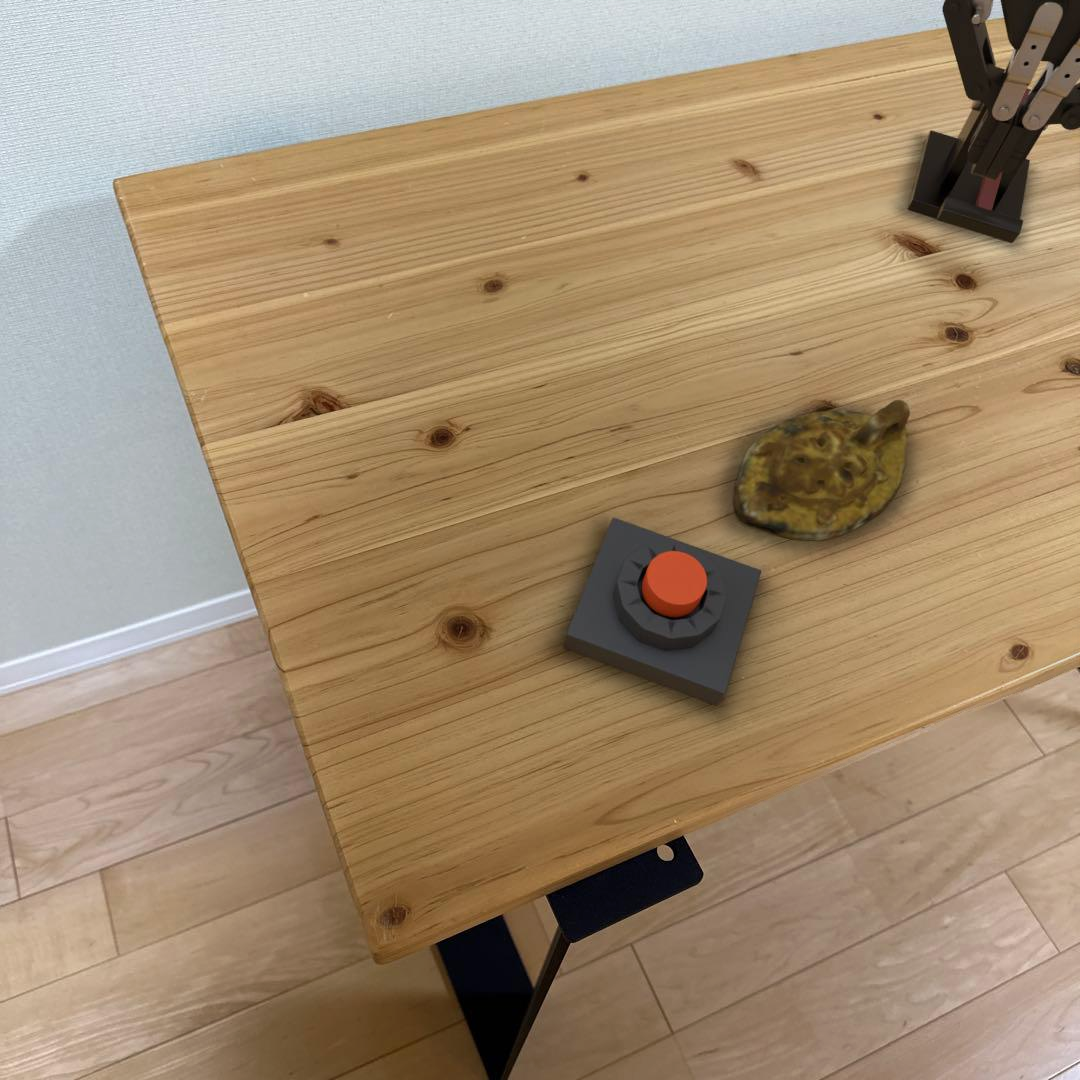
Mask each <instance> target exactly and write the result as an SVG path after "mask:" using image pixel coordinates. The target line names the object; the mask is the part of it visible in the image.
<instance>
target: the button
mask: <svg viewBox="0 0 1080 1080" xmlns="http://www.w3.org/2000/svg"><path fill="white" fill-rule="evenodd" d="M706 587H707V576H706V573H705V570H704V568H703V566H702V565H701V564H700V563H699V561H697V560H696V559H695V558H694V557H692V556H691V555H689V554H686V553H683V552H679V551H668V552H664V553H661V554H659V555H658V556H656V557H655V558H654V559H653V560H652V561H651V562H650V564H649V566H648V568H647V571H646V574H645V576H644V579H643V582H642V593H643V597H644V599H645V601H646V602H647V604H648V605H649V606H650V607H651V608H652V609H653V610H654V611H655V612H657V613H659V614H661V615H664V616H667V617H682V616H685V615H687V614H689V613H691V612H692V611H693V610H695V608H696V607H697V606H698V604H699V602H700V600H701V598H702V596H703V594H704V592H705V590H706Z"/></svg>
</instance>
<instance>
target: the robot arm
mask: <svg viewBox="0 0 1080 1080" xmlns="http://www.w3.org/2000/svg"><path fill="white" fill-rule="evenodd" d="M943 1H944V2H943V5H942V9H941V11H942V15H943V18H944V23H945V25H946V29H947V33H948V36H949V39H950V43H951V46H952V50H953V53H954V57H955V60H956V65H957V68H958V73H959V75H960V79H961V82H962V86H963V89H964V93H965V95H966V97H967V98H968V100H971V101H973V100H974V101H978V100H980V101H981V102H982V103H984V104H985V106H986V107H987V110H986V112H985V114H984V116H983V118H982V120H981V122H980V124H979V126H978V127H977V129H976V131H975V133H974V135H973V137H972V139H971V142H970V146H969V150H968V155H967V162H970V163H973V166H972V170H971V173H972V174H975V175H978V176H981V177H985V178H988V179H991V180H994V181H995V180H996V179H997V178H998V176H999V174H1000V172H1003V173H1006V174H1009V173H1010V172H1012V171H1013V170H1014V169H1015V168H1016V167H1017V165H1018V163H1019V162H1020V160H1021V158H1022V157H1023V155H1024V153H1025V152H1026V150H1027V148H1028V147H1029V145H1030V143H1031V141H1032V140H1033V138H1034V136H1035V135H1036V133H1037V132H1038V130H1039V129H1041V128H1042V127H1044V126H1046V125H1048V126H1050V125H1061V127H1062V128H1063V129H1065V130H1068V131H1074V130H1079V129H1080V82H1078V81H1079V80H1080V0H1000V4H1001V6H1000V7H1001V10H1002V16H1003V20H1004V25H1005V31H1006V35H1007V39H1008V42H1009V45H1011V47H1012V48H1013V50H1012V53H1011V55H1010V58H1009V60H1008V62H1007V65H1006V67H1005V68H1004V69H1005V72H1004V73H1003V72H1002V71H1001V70H1000V69H998V68H997V67H998V66H996V65H997V63H996V60H995V59H996V58H995V55H994V51H993V48H992V44H991V40H990V35H989V32H988V27H987V24H986V21H988V19H989V18H990V16H991V12H992V9H993V6H994V0H943ZM1041 62H1047V64H1046V66H1045V67H1044V68H1043V71H1042V72H1041V73H1040V74H1039V77H1038V78H1037V79H1036V81H1035V82H1034V84H1033V85H1032V87H1031V88H1030V89H1031V90H1030V92H1029V94H1028V96H1027V98H1026V100H1025V101H1024V103H1023V104H1020V102H1021V100H1022V98H1023V96H1024V93H1025V91H1026V89H1027V88H1028V87H1029V86H1030V85H1031V83H1032V81H1033V79H1034V76H1035V75H1036V71H1037V70H1038V68H1039V66H1040V64H1041Z"/></svg>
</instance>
